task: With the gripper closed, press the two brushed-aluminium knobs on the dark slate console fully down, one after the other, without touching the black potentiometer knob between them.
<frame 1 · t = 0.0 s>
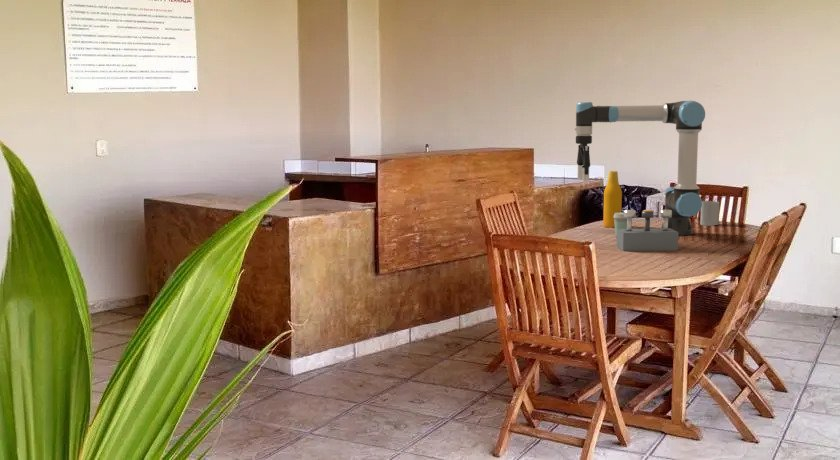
hand: (583, 180, 413), 28 cm above the table, fingers open, 13 cm apart
knob b: (665, 223, 386), point 11 cm above the table, slide at 0.0 cm
cup: (709, 225, 459), on the table
pot knob: (647, 223, 386), point 11 cm above the table, slide at 0.0 cm
console: (646, 248, 387), on the table
coffee cup: (622, 238, 417), on the table
knob a: (629, 223, 386), point 11 cm above the table, slide at 0.0 cm
beer bottle: (612, 226, 456), on the table
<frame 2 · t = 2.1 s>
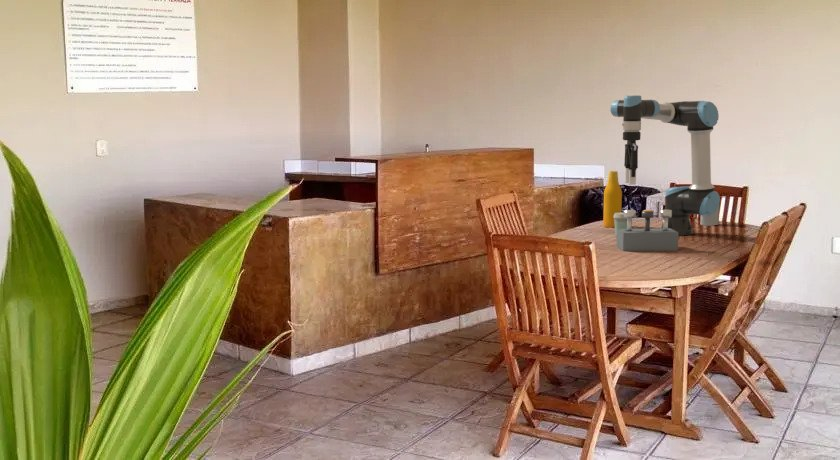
hand: (630, 183, 383), 29 cm above the table, fingers open, 6 cm apart
nothing on the table moved.
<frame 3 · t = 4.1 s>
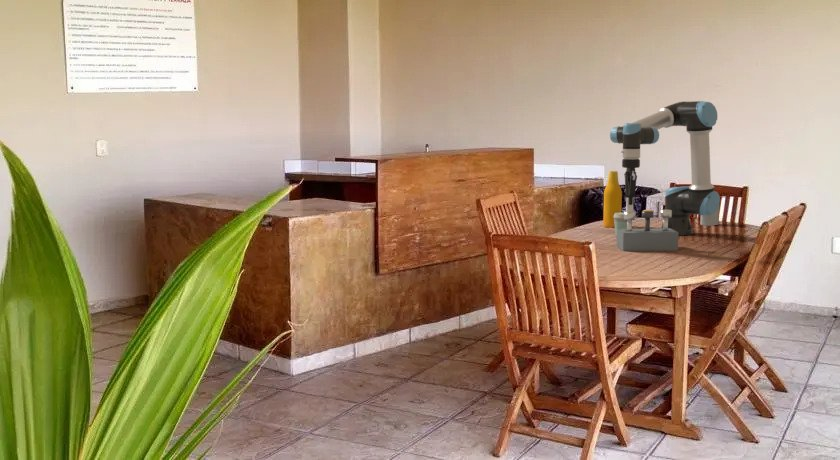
hand: (629, 211, 385), 16 cm above the table, fingers closed
knob a: (629, 225, 386), point 10 cm above the table, slide at 0.8 cm, touching gripper
everything else where it was.
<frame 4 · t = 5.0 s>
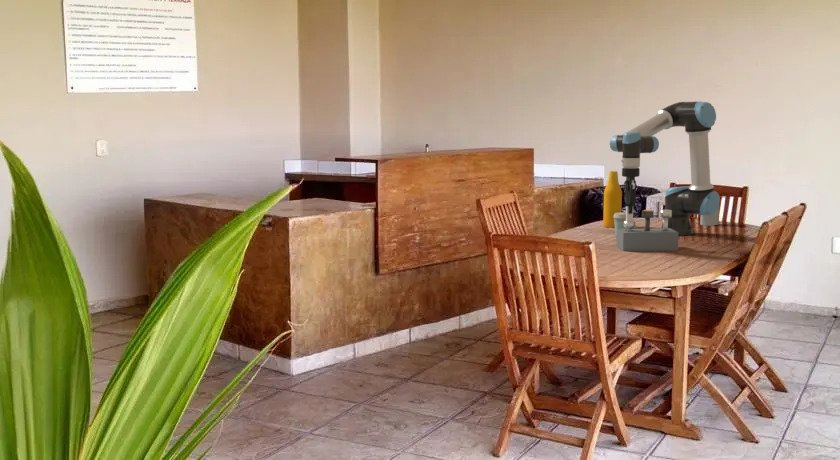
hand: (629, 220, 386), 13 cm above the table, fingers closed
knob a: (629, 234, 386), point 7 cm above the table, slide at 4.7 cm, touching gripper
everything else where it was.
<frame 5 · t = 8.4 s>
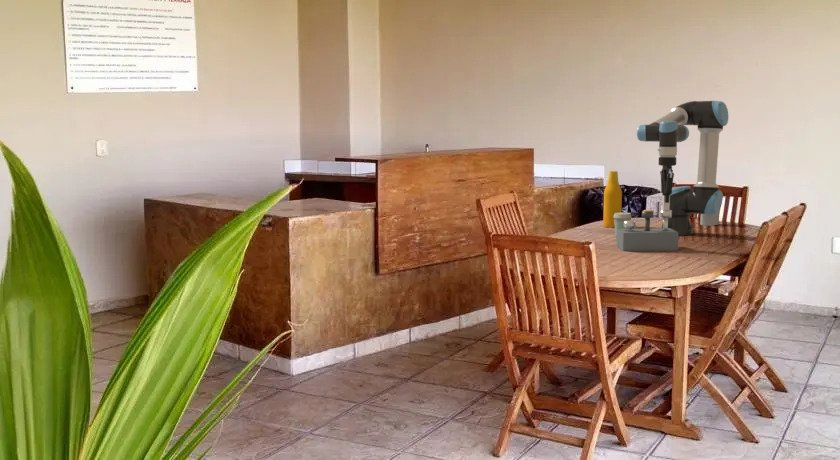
hand: (665, 209, 385), 17 cm above the table, fingers closed
knob b: (665, 223, 386), point 11 cm above the table, slide at 0.0 cm, touching gripper
knob a: (629, 234, 386), point 6 cm above the table, slide at 4.8 cm
everything else where it was.
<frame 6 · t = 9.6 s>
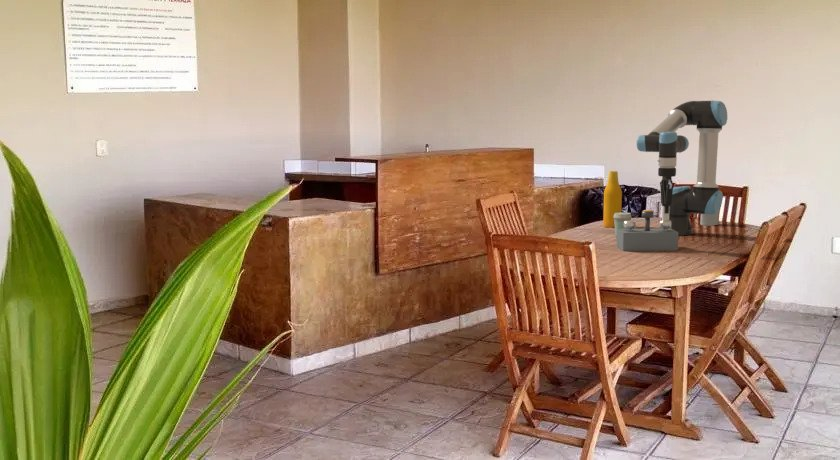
hand: (665, 220, 386), 12 cm above the table, fingers closed
knob b: (665, 233, 387), point 6 cm above the table, slide at 4.8 cm, touching gripper
everything else where it was.
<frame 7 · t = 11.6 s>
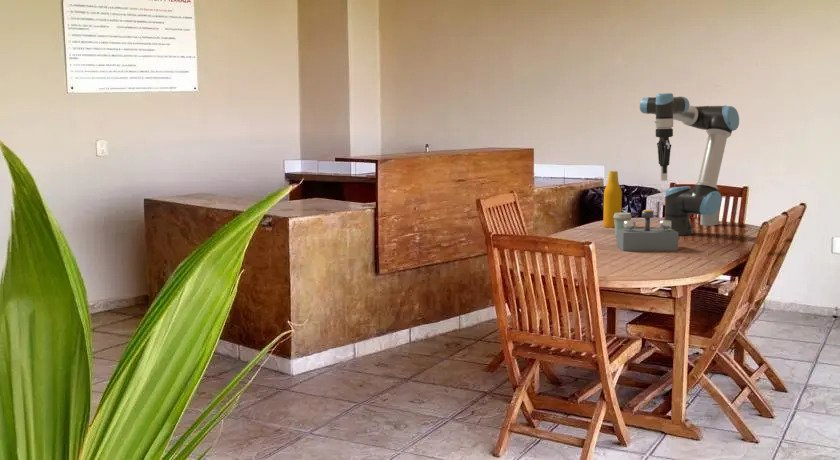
hand: (663, 180, 394), 29 cm above the table, fingers closed
knob b: (665, 233, 387), point 6 cm above the table, slide at 4.8 cm
everything else where it was.
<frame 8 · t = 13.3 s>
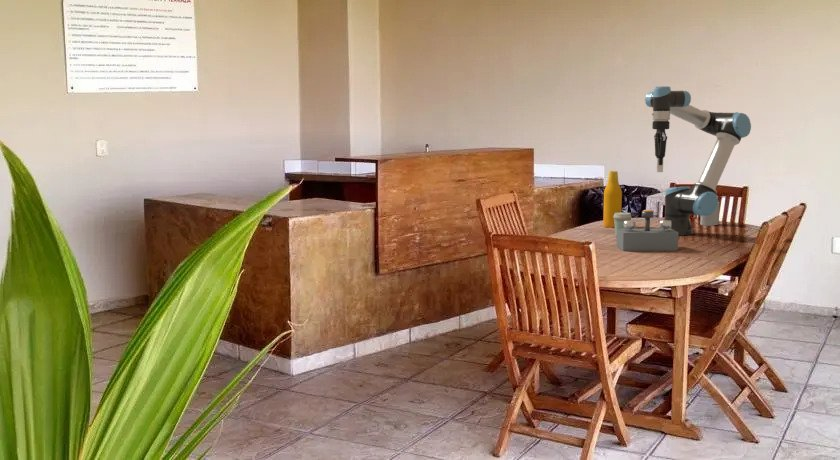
hand: (659, 172, 402), 32 cm above the table, fingers closed
nothing on the table moved.
at the end: knob a slide at 4.8 cm; knob b slide at 4.8 cm; pot knob slide at 0.0 cm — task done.
